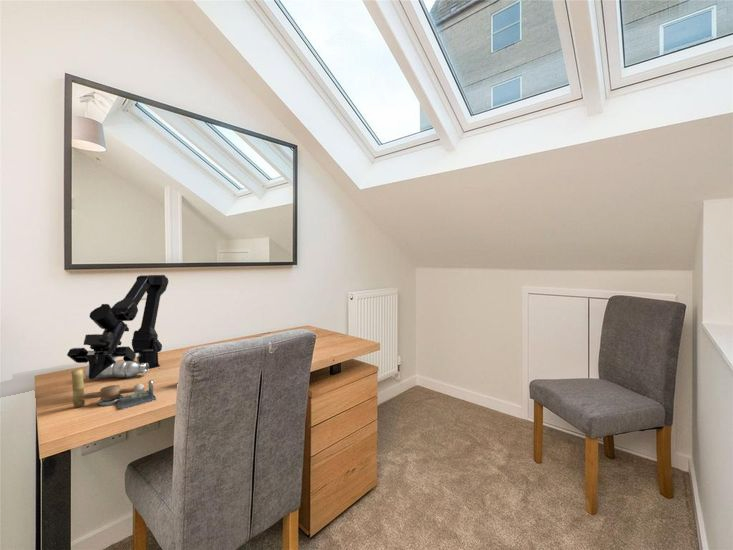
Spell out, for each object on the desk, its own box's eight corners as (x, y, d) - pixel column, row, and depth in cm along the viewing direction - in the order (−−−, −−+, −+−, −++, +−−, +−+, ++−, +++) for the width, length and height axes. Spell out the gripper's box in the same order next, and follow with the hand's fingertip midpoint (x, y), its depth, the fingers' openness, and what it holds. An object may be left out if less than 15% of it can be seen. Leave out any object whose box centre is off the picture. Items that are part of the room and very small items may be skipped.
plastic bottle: (94, 373, 130) (151, 369, 134) (84, 384, 124) (144, 380, 128) (91, 358, 128) (149, 355, 132) (80, 369, 122) (141, 365, 126)
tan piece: (146, 392, 112) (144, 361, 112) (142, 398, 108) (141, 365, 107) (77, 402, 105) (75, 368, 105) (70, 409, 101) (68, 374, 100)
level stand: (146, 389, 116) (146, 375, 116) (157, 399, 108) (157, 384, 108) (96, 402, 106) (95, 386, 106) (103, 414, 98) (103, 397, 98)
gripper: (69, 324, 112) (42, 368, 102) (128, 322, 113) (108, 366, 103) (88, 341, 120) (65, 383, 110) (143, 339, 122) (126, 381, 111)
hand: (90, 378), depth 108 cm, fingers closed
